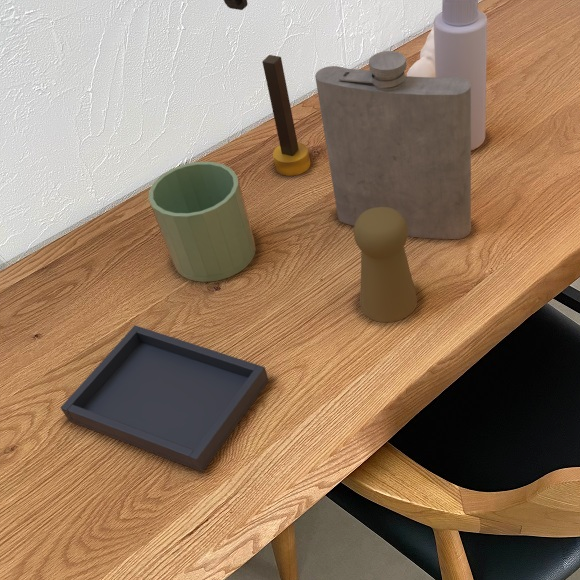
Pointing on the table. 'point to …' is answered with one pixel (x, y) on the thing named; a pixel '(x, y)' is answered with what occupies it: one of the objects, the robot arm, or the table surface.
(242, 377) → the tray
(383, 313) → the peg doll figure
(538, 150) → the table surface
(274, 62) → the brush
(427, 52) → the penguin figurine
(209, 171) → the beaker
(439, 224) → the hip flask
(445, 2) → the spray bottle
